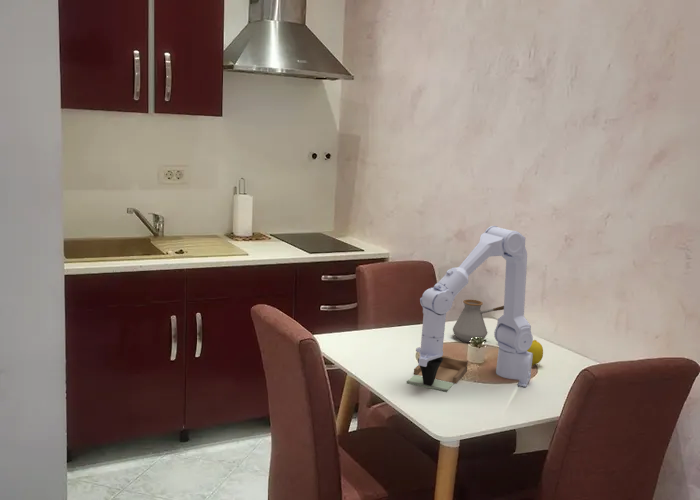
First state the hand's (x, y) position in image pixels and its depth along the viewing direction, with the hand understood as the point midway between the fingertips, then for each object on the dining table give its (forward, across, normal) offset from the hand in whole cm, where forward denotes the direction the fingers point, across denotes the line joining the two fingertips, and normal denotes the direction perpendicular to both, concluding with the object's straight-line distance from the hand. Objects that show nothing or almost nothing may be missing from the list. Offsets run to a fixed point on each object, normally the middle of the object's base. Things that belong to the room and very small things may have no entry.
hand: (428, 384), depth 173 cm
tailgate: (0, -6, 0) cm, 6 cm away
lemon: (+2, -38, +21) cm, 43 cm away
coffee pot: (+2, -52, +3) cm, 52 cm away
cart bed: (+2, -12, 0) cm, 12 cm away
